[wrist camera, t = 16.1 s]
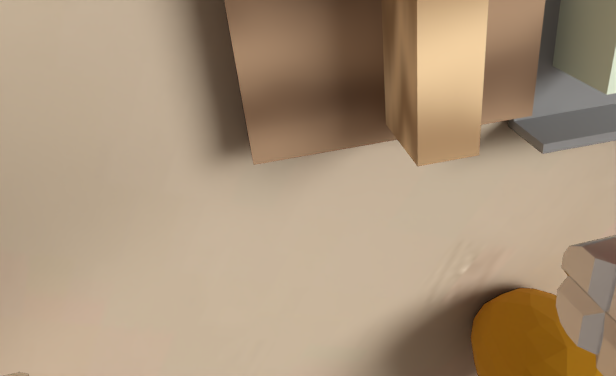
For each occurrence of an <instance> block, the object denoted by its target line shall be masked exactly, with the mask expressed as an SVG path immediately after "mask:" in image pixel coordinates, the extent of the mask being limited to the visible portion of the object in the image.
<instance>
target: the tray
mask: <svg viewBox="0 0 616 376" xmlns="http://www.w3.org/2000/svg"><path fill="white" fill-rule="evenodd" d="M560 3H561V0H545V8H544V17H543V26H542V34H541V43H540V52H539V60H538V69H537V78H536V86H535V95H534V104H533V112H532V116H528V117H523V118H517V119H511V120H509V124H508V126H509V127H510V128H511V129H512V130H514V131H515V132H516V133H517V134H519V135H520V136H521V137H522V138H524V139H525V140H526V141H527V142H528V143H530V144H531V145H532V146H533V147H535V148H536V149H537V150H538V151H540V152H541V153H542V154H544V153H549V152H555V151H560V150H566V149H571V148H577V147H582V146H588V145H593V144H598V143H604V142H609V141H615V140H616V93H614V94H608V95H606V94H604V93H602V92H601V91H599V90H597V89H595V88H593V87H591V86H589V85H587V84H586V83H584V82H582V81H580V80H578V79H576V78H574V77H572V76H570V75H569V74H567V73H565V72H563V71H561V70H559V69H557V68H555V67H554V66H552V65H553V57H554V50H555V42H556V34H557V26H558V18H559V10H560Z"/></svg>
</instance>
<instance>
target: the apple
mask: <svg viewBox="0 0 616 376" xmlns="http://www.w3.org/2000/svg"><path fill="white" fill-rule="evenodd" d="M556 298H557V296H556V295H553V294H551V293H547V292H544V291H540V290H537V289H530V288H518V289H515V290H513V291H510V292H507V293H504V294H501V295H499V296H498V297H496V298H494V299H492V300H491V301H489V302H487V303H485V304H484V305H483V306H482V308H481V309H480V310H479V312H478V313H477V315H476V316H475V318H474V321H473V326H472V332H471V342H472V349H473V356H474V362H475V366H476V370H477V374H478V376H603V375H602V374H601V372H600V371H599V370H598V369H597V368H596V354H593V353H591V352H589V351H587V350H585V349H582V348H580V347H578V346H577V345H576V344H575V343H574V342H573V341H572V340H571V338H570V337H569V336H568V335H567V334H566V332H565V330H564V328H563V326H562V325H561V323H560V320H559V316H558V312H557V309H556Z"/></svg>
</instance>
